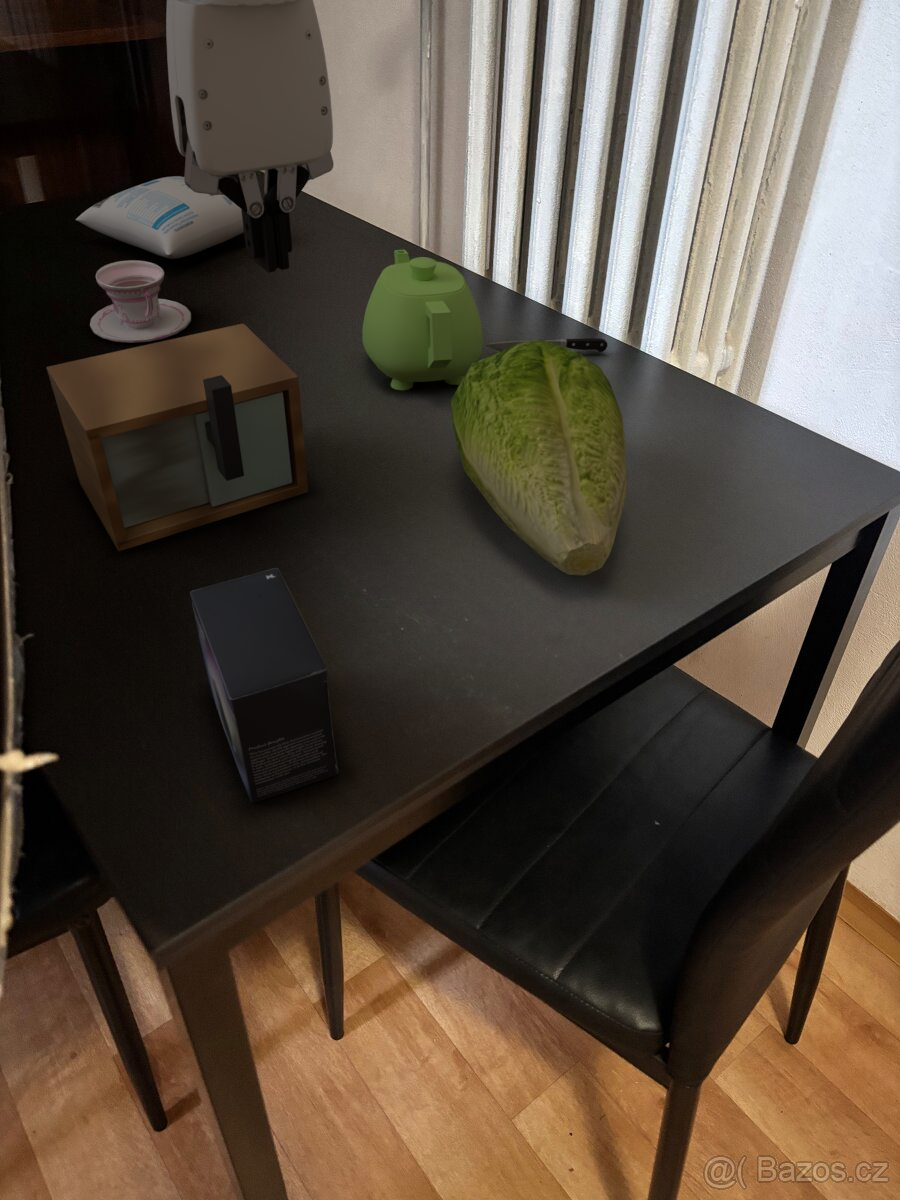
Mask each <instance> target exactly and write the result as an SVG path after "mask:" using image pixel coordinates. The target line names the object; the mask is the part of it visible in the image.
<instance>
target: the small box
mask: <svg viewBox="0 0 900 1200" xmlns="http://www.w3.org/2000/svg"><path fill="white" fill-rule="evenodd" d="M281 572H282V571H280V569H279V568H277V567H274V568H270V569H268V570H263V571H259V572H256V573H253V574H249V575H245V576H242V577H237V578H234V579H230V580H227V581H223V582H219V583H215V584H212V585H209V586H205V587H201V588H198V589H193V590H191V591H190V592H189V596H190V600H191V605H192V610H193V616H194V619H195V625H196V630H197V633H198V639H199V643H200V648H201V652H202V657H203V661H204V666H205V669H206V670H205V671H206V672H207V673H206V674H207V679H208V682H209V683H208V684H209V686H210V691H211V694H212V698H213V700H214V701H213V702H214V704H215V707H216V710H217V714H218V716H219V719H220V722H221V725H222V729H223V731H224V734H225V737H226V739H227V742H228V745H229V749H230V751H231V753H232V756H233V759H234V762H235V764H236V768H237V770H238V772H239V775H240V778H241V780H242V783H243V786H244V788H245V791H246V793H247V796H248V798H249V801H250V802H251V803H252V804H254V803H255V804H256V803H258V802H259V803H260V802H263V801H265V800H268V799H271V798H273V797H276V796H279V795H283V794H285V793H286V794H287V793H289V792H291V791H295V790H297V789H300V788H303V787H306V786H309V785H313V784H315V783H317V782H321V781H324V780H326V779H329V778H332V777H336V776H337V775H338V774H339V772H340V771H339V765H338V759H337V752H336V747H335V746H336V744H335V735H334V729H333V719H332V711H331V703H330V702H331V700H330V688H329V687H330V686H329V668H328V665H327V664H326V662H325V660H324V658H323V656H322V654H321V651H320V650H319V648H318V645H317V643H316V642H315V640H314V637H313V636H312V633H311V631H310V629H309V627H308V625H307V623H306V621H305V619H304V617H303V615H302V613H301V611H300V609H299V607H298V606H297V603H296V601H295V599H294V597H293V595H292V593H291V590H290V588H289V587H288V585H287V583H286V580H285V578H284V576H283V575H282V573H281Z"/></svg>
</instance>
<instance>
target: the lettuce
mask: <svg viewBox="0 0 900 1200" xmlns="http://www.w3.org/2000/svg"><path fill="white" fill-rule="evenodd" d="M535 340H536V341H529V342H522V343H517V344H515V345H513V346H511V347H509V348H507V349H505V350H503V351H501V352H500V351H498V352H496V353H495V354H492V355H490V356H487V357H484V358H482V359H479V360H478V361H477V362H474V363H472V364H471V366H470V368H469V369H468V371H467V373H466V374H465V375H464V378H463V379H462V381H461V383H460V385H457V388H456V390H455V391H454V393H453V395H452V397H451V398H450V406H451V407H450V408H451V418H452V419H451V420H452V427H453V432H454V437H455V442H456V446H457V450H458V453H459V456H460V460H461V463H462V466H463V470H464V472H465V473H466V475H467V476H468V477H469V479H470V480H471V482H472V483H473V484H474V486H475V487H476V488H477V490H478V491H479V492H480V494H481V495H482V496H483V498H484V499H485V500H486V502H487V503H488V504H489V506H490V507H491V508H492V510H493V511H494V512H495V513H496V514H497V515H498V517H499V518H500V519H501V520H502V521H503V522H504V523H505V525H506V526H507V527H508V528H509V529H510V530H511V531H512V532H513V533H515V535H517V537H518V538H520V539H521V540H522V541H523V542H524V543H525V544H526V545H527V546H528V547H529V548H530V549H531V550H532V551H534V553H536V554H537V555H538V556H539V557H541V558H542V559H543V560H545V562H547V563H548V564H550V565H552V566H553V567H555V568H556V569H557V570H559V571H561V572H562V573H564V574H566V575H569V576H587V575H589V574H591V573H594V572H596V571H598V570H600V569H602V568H603V567H604V565H605V563H606V561H607V560H608V559H609V557H610V555H611V552H612V549H613V547H614V543H615V540H616V535H617V532H618V528H619V524H620V520H621V518H622V514H623V511H624V507H625V504H626V499H627V496H628V482H627V466H626V465H627V462H626V457H627V456H626V455H627V453H626V436H625V428H624V427H625V426H624V420H623V414H622V411H621V409H620V406H619V403H618V401H617V398H616V395H615V392H614V390H613V387H612V385H611V382H610V380H609V378H608V377H607V375H606V374H605V372H604V371H603V370H602V368H601V367H600V366H599V365H597V364H595V363H594V362H592V361H591V360H589V359H588V358H587V357H585V356H583V355H582V354H580V353H578V352H576V351H574V350H573V349H570V348H567V347H562V346H560V345H557V344H554V343H551V342H548V341H545V340H546V339H535Z"/></svg>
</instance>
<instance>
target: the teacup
mask: <svg viewBox="0 0 900 1200" xmlns="http://www.w3.org/2000/svg"><path fill="white" fill-rule="evenodd" d="M95 279H96V280H95V281H96V283H97V285H98V286H99V287H101V289H103V290H104V291H105V293H106V295H107V297H109V298H110V299H111V302H112V303H111V304H109V305H107V306H105V307H103V308H102V309H100V310H98V311H96V313H94V315H93V316H92V317H91V318H90V322H89V328H90V329H91V331H92V333H93V334H94V335H96V336H98V337H100V338H102V339H105V340H108V341H112V342H117V343H127V344H129V343H130V344H131V343H133V344H135V343H136V344H137V343H149V342H154V341H159V340H163V339H166V338H169V337H172V336H174V335H177V334H179V333H181V332H182V331H183V330H185V329H187V327H188V326H189V325H190V323H191V322H192V313H191V311H190V310H189V308H188V307H187V306H185V305H183V304H182V303H180V302H177V301H174V300H169V299H166V298H159V296H158V295H159V293H160V292H161V290H162V288H161V284H162V283H163V281H164V279H165V271H164V269H163V268H162V267H161V266H159V265H158V264H157V263H153V262H150V261H145V260H136V259H134V260H133V259H131V260H129V259H128V260H120V261H115V262H111V263H108V264H105V265H103V266H102V267H100V268H99V269H98V270H97V271H96V273H95Z"/></svg>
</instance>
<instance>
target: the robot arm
mask: <svg viewBox="0 0 900 1200" xmlns="http://www.w3.org/2000/svg"><path fill="white" fill-rule="evenodd" d="M165 14H166V15H165V23H166V24H165V30H166V31H165V36H166V55H167V57H166V58H167V60H166V61H167V75H168V85H169V87H168V88H169V99H170V108H171V109H170V110H171V117H172V126H173V127H172V128H173V134H174V139H175V144H176V147H177V150H178V152H179V154H180V155H181V156H182V157H183V158H185V161H184V162H185V164H184V176H183V177H184V181H185V184H186V185H187V186H188V187H189V188H190V189H191V190H193V191H194V192H196V193H204V194H213V195H225V196H226V197H227V198H229V199H230V200H231V201H232V202H233V203H235V204H236V205H237V206H238V207H240V208H241V211H242V220H243V228H244V232H243V235H244V243H245V249H246V253H247V255H248V256H249V258H250V259H251V260H253V261H254V262H255V264H257V265H258V266H259V267H261V268H262V269H263V270H264V271H265V272H267V273H268V274H269V273H274V272H276V271H277V270H278V269H280V270H281V271H284V270H288V269H290V260H289V253H291V252H292V251H293V242H292V230H291V219H290V218H291V217H290V213H291V212H292V211H294V209H295V207H296V200H297V198H298V197H299V195H300V194H301V192H302V191H303V189H304V188H305V187H306V185H307V184H308V182H309V181H312V180H315V179H317V178H320V177H321V176H324V175H326V174H328V173H330V172H331V171H332V170H333V168H334V165H335V164H334V159H333V156H332V153H331V150H332V148H333V145H334V122H333V120H334V119H333V106H332V98H331V97H332V96H331V88H330V81H329V72H328V66H327V65H328V64H327V59H326V53H325V48H324V44H323V37H322V33H321V28H320V24H319V20H318V15H317V11H316V7H315V3H314V0H166V13H165ZM259 171H264V185H263V186H264V187H263V195H264V196H263V197H262V194H261V190H260V185H259V181H258V177H257V173H256V172H259Z"/></svg>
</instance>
